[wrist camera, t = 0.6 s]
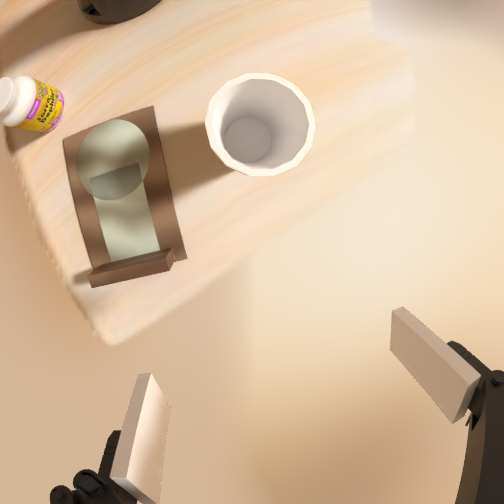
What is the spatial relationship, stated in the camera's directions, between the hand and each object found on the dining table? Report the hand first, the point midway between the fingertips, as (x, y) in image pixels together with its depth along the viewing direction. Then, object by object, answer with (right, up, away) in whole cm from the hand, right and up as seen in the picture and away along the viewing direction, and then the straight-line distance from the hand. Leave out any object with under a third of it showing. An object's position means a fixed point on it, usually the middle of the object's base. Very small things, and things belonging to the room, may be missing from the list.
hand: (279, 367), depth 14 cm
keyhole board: (-19, +13, +21) cm, 31 cm away
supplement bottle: (-31, +26, +16) cm, 44 cm away
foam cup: (-2, +20, +21) cm, 29 cm away
